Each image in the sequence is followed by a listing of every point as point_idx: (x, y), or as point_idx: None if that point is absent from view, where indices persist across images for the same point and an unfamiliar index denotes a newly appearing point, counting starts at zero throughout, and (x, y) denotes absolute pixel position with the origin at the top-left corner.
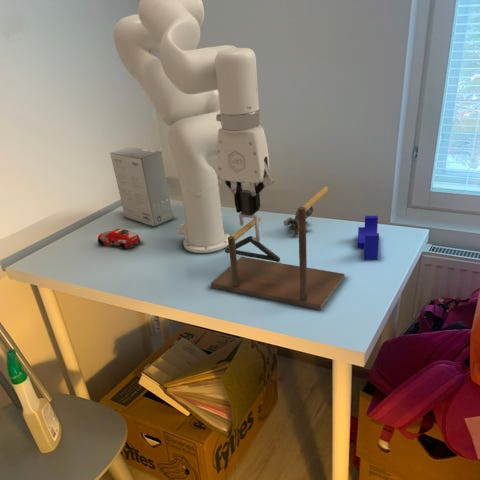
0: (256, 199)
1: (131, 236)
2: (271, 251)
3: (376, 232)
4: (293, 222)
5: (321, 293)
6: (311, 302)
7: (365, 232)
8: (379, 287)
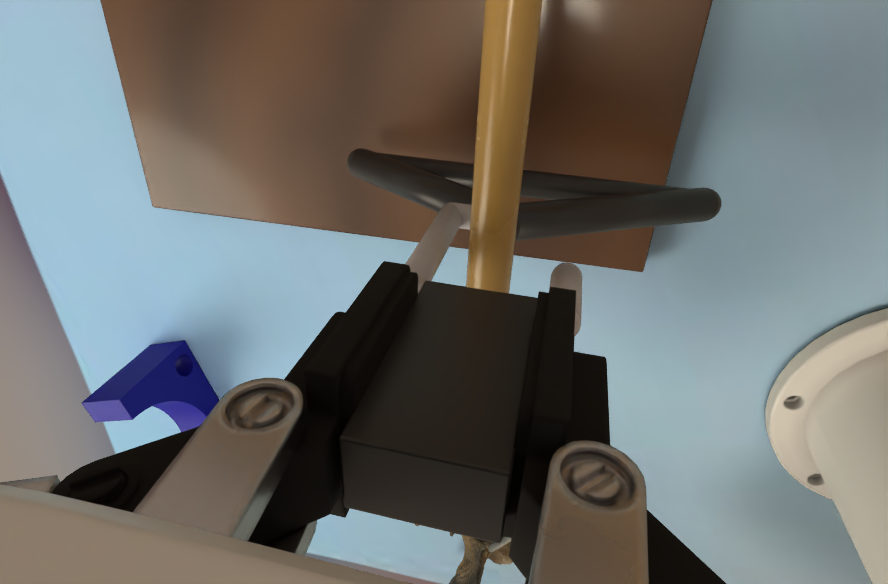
0: (291, 374)
1: None
2: (385, 186)
3: None
4: None
5: (131, 11)
6: None
7: None
8: (39, 165)
